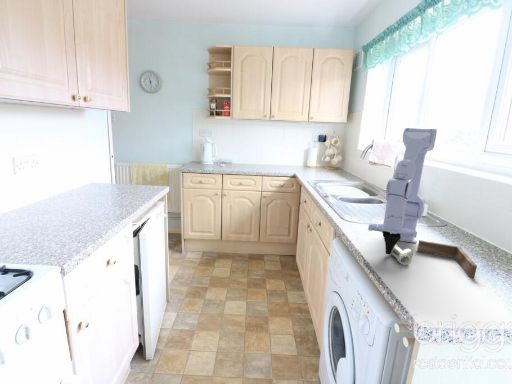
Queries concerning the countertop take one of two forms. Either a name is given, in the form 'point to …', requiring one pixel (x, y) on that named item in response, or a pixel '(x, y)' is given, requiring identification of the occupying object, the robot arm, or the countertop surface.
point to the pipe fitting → (402, 255)
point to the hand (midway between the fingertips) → (387, 253)
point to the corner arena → (449, 254)
